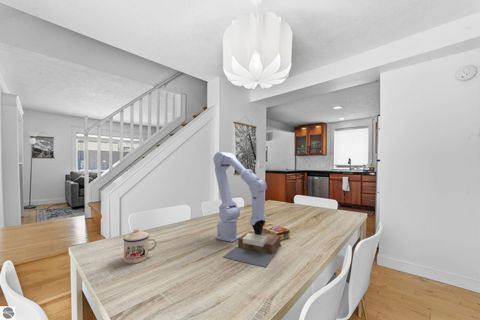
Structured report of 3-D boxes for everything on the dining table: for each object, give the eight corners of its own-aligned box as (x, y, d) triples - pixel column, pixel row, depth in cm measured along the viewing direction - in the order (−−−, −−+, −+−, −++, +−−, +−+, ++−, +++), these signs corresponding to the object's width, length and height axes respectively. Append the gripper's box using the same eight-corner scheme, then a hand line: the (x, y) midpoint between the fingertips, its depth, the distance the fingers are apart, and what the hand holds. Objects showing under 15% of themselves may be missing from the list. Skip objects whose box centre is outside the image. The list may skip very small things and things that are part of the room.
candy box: (276, 232, 100) (257, 225, 113) (277, 241, 100) (258, 233, 113) (289, 229, 105) (270, 222, 118) (290, 237, 105) (270, 230, 117)
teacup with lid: (121, 266, 75) (121, 234, 75) (125, 255, 83) (125, 227, 83) (156, 260, 79) (156, 230, 79) (156, 251, 88) (157, 224, 88)
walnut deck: (238, 247, 92) (238, 238, 92) (248, 238, 103) (249, 230, 103) (272, 254, 85) (272, 245, 85) (280, 244, 96) (280, 235, 96)
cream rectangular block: (242, 242, 88) (242, 238, 88) (248, 237, 93) (248, 233, 93) (262, 246, 84) (262, 241, 84) (267, 240, 89) (267, 236, 89)
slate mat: (223, 257, 82) (223, 256, 82) (235, 247, 92) (235, 246, 92) (265, 267, 74) (265, 266, 74) (274, 255, 84) (274, 254, 84)
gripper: (260, 210, 84) (260, 244, 84) (271, 204, 97) (271, 233, 97) (245, 209, 87) (245, 241, 87) (257, 203, 100) (257, 231, 100)
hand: (258, 236), depth 92 cm, fingers closed
